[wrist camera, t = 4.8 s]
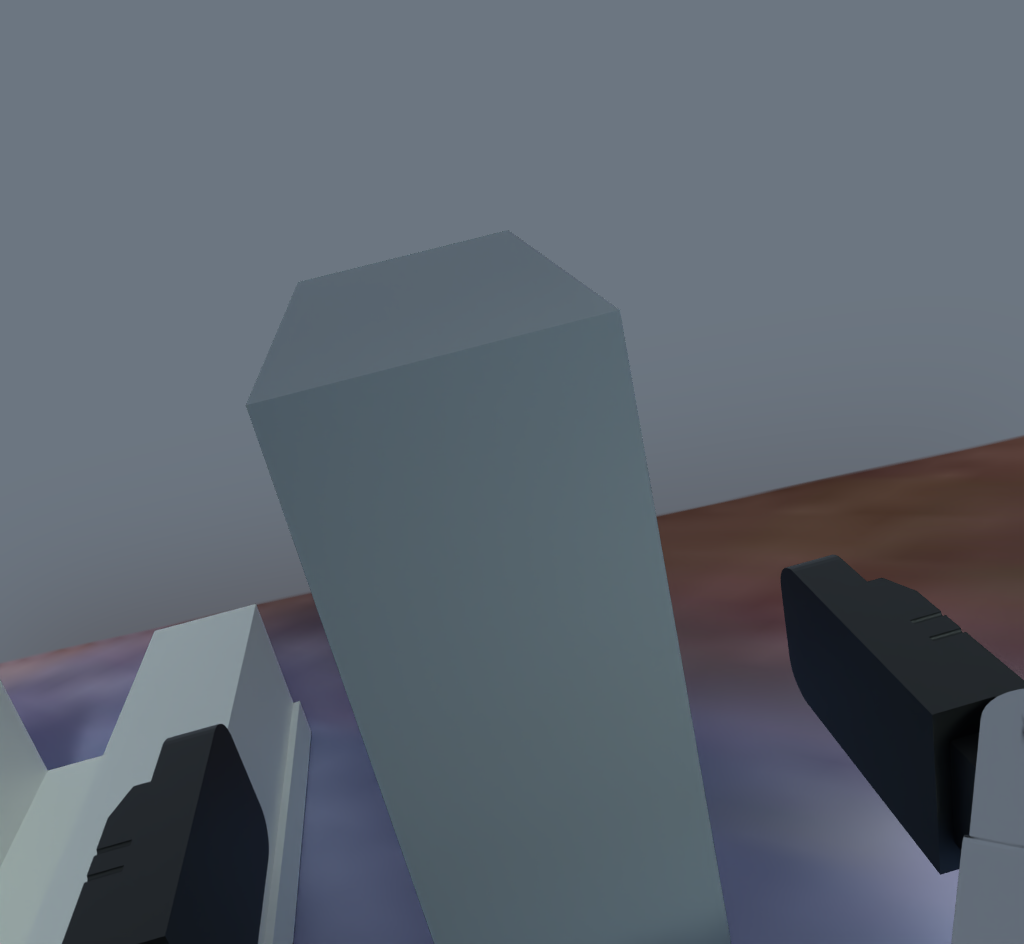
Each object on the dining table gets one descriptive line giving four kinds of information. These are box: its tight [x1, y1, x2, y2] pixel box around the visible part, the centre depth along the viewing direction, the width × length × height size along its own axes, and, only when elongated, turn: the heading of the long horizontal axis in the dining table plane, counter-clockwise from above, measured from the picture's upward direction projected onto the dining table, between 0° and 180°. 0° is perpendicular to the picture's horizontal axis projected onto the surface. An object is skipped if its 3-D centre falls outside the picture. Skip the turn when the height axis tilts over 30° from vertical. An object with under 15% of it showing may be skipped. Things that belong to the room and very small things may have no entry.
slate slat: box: [246, 230, 731, 944], centre depth 13 cm, size 3×6×15 cm, turn 9°
